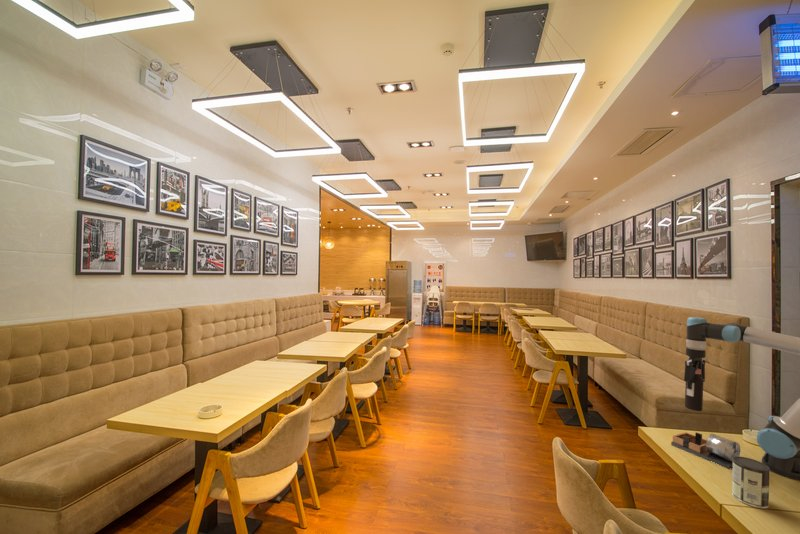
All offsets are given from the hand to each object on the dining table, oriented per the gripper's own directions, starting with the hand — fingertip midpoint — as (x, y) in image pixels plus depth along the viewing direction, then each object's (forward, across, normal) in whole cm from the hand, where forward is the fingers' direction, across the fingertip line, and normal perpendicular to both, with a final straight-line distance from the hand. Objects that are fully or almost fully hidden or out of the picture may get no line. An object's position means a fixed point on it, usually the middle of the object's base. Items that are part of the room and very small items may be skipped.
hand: (694, 394), depth 175 cm
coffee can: (+27, +27, +32) cm, 49 cm away
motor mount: (+27, 0, +6) cm, 27 cm away
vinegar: (+7, 0, 0) cm, 7 cm away
